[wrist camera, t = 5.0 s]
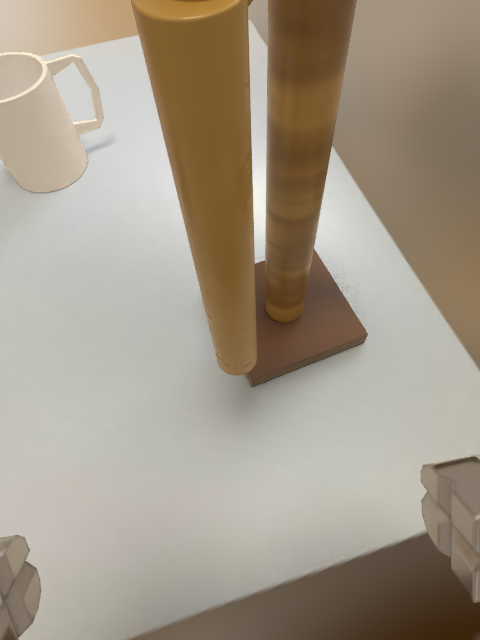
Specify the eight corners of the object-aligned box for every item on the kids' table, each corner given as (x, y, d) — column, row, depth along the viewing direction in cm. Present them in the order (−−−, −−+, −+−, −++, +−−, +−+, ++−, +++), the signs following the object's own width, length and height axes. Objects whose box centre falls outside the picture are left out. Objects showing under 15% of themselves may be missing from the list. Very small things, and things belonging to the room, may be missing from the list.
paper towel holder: (364, 342, 33) (566, -63, 11) (251, 387, 32) (228, 25, 10) (309, 254, 38) (376, -156, 16) (209, 289, 37) (128, -105, 14)
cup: (129, 163, 46) (98, 71, 37) (23, 203, 43) (-37, 115, 34) (106, 123, 49) (72, 31, 40) (7, 158, 47) (-51, 68, 38)
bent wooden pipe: (272, 209, 28) (285, -246, 12) (329, 224, 27) (426, -246, 11) (196, 362, 22) (35, -86, 7) (264, 387, 22) (269, -61, 6)
